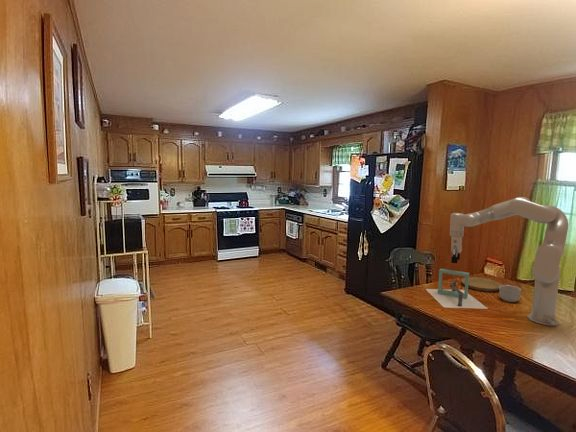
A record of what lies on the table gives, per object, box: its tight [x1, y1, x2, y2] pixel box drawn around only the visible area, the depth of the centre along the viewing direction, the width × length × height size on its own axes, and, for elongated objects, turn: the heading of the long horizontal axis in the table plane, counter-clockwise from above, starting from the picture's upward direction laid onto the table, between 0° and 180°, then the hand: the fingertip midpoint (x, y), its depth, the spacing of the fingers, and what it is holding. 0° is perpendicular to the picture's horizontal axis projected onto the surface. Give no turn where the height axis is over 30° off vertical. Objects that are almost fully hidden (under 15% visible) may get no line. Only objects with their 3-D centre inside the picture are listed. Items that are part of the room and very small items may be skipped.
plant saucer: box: [460, 276, 503, 293], centre depth 222 cm, size 24×24×3 cm
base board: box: [425, 288, 489, 310], centre depth 197 cm, size 30×24×2 cm
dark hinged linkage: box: [449, 279, 463, 307], centre depth 196 cm, size 25×5×8 cm, turn 161°
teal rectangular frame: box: [437, 268, 470, 299], centre depth 201 cm, size 6×16×15 cm, turn 56°
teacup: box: [498, 284, 522, 303], centre depth 198 cm, size 14×11×8 cm
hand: (455, 261), depth 199 cm, fingers open, 9 cm apart
